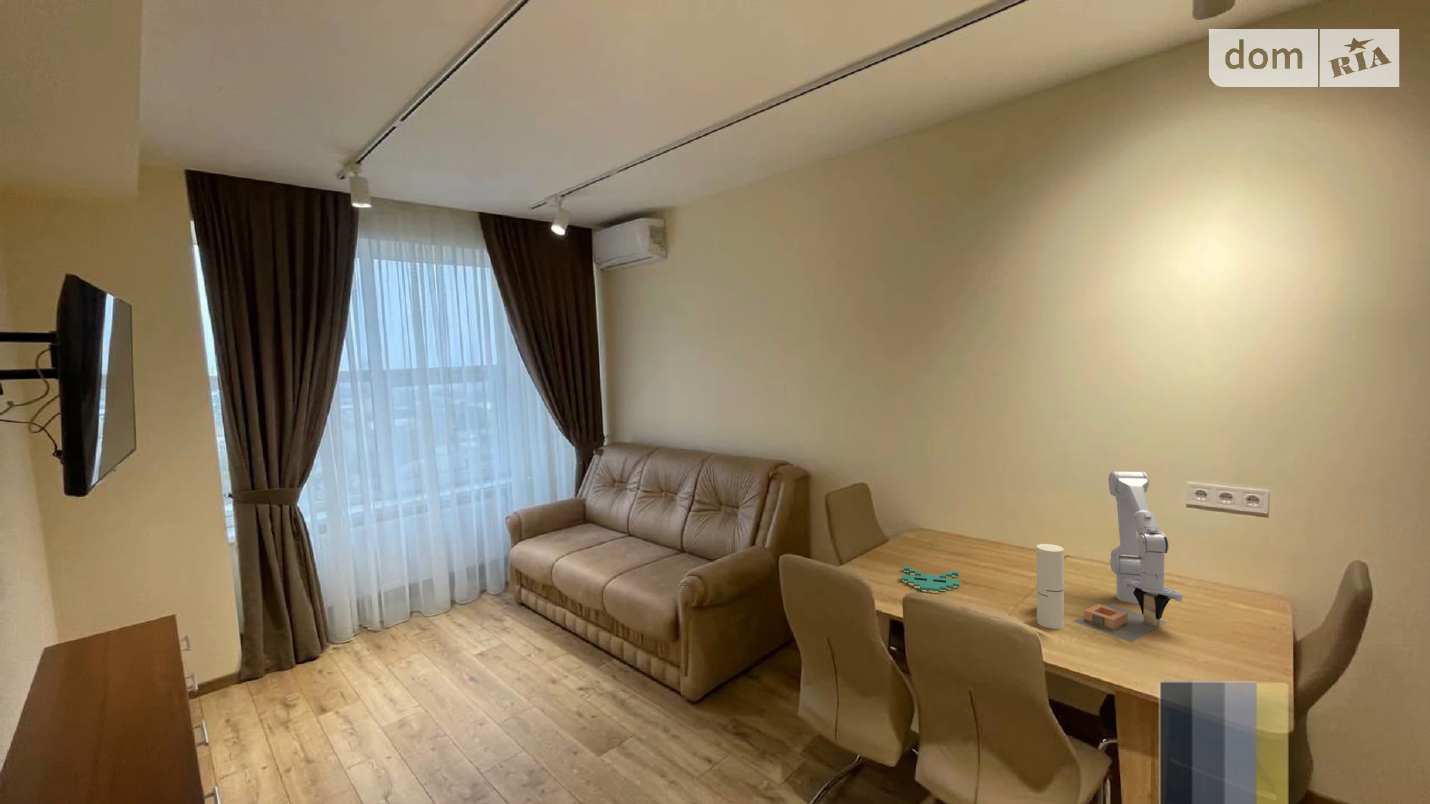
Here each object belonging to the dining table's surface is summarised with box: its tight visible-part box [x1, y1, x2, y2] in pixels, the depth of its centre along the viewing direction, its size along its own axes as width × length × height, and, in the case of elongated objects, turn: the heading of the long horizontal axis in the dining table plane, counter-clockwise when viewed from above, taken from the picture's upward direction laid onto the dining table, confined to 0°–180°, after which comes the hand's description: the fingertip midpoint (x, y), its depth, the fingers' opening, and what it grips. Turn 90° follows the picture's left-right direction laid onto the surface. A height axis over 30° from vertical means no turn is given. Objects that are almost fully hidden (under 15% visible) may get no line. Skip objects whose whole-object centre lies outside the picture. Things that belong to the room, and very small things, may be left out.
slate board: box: [1073, 603, 1167, 643], centre depth 172 cm, size 22×16×1 cm
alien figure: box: [901, 565, 960, 592], centre depth 211 cm, size 20×2×20 cm
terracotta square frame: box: [1083, 603, 1128, 631], centre depth 172 cm, size 9×8×3 cm
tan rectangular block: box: [1144, 593, 1161, 627], centre depth 170 cm, size 3×3×9 cm
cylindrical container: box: [1036, 543, 1065, 630], centre depth 172 cm, size 7×7×25 cm
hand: (1151, 616), depth 170 cm, fingers closed on tan rectangular block, 3 cm apart
